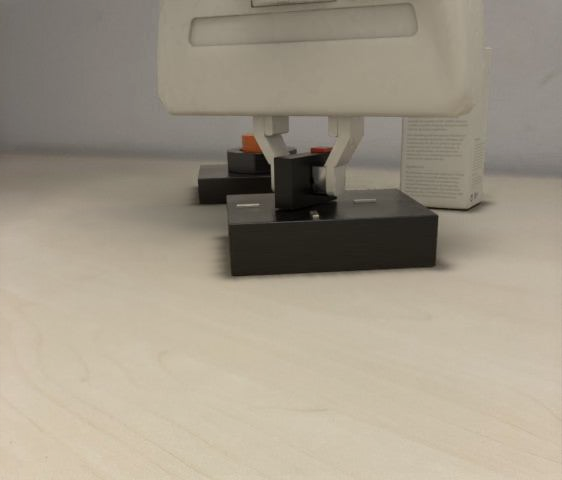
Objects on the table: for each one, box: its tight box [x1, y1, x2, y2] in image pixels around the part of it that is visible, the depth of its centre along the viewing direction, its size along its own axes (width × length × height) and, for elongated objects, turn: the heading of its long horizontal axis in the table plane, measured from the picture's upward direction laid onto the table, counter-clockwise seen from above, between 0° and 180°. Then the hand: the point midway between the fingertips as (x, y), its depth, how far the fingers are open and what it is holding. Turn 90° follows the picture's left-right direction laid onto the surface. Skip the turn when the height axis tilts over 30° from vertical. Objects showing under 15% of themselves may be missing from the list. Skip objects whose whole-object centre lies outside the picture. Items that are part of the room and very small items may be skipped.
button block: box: [197, 145, 298, 205], centre depth 67 cm, size 12×10×4 cm
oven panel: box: [226, 187, 440, 277], centre depth 45 cm, size 12×10×3 cm
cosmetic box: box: [399, 47, 494, 210], centre depth 57 cm, size 6×4×12 cm
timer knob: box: [274, 146, 337, 210], centre depth 43 cm, size 5×1×3 cm, turn 140°
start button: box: [241, 132, 262, 152], centre depth 66 cm, size 4×4×2 cm
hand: (308, 193), depth 44 cm, fingers closed on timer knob
